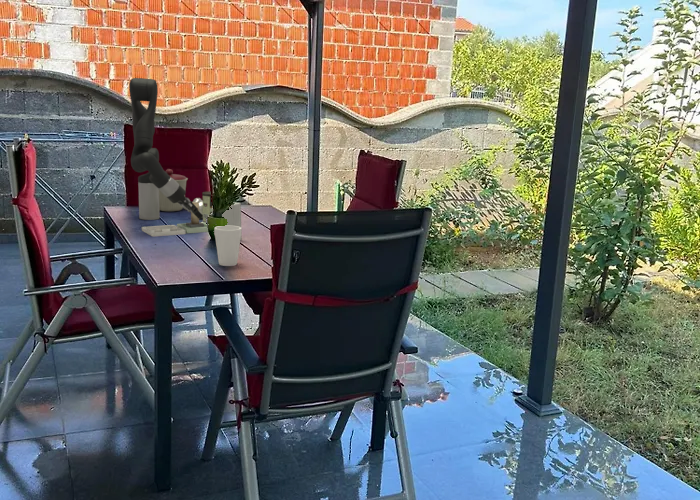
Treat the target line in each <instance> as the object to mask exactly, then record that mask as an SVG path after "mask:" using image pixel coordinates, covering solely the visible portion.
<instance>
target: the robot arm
mask: <svg viewBox="0 0 700 500" xmlns="http://www.w3.org/2000/svg"><path fill="white" fill-rule="evenodd" d="M128 87H129V88H128V89H129V98H130V103H131V105H130V106H131V110H132V111H131V113H132V116H131V117H132V119H131V120H132V131H133V132H132V133H133V142H134V144H133V145H134V146H133V149H132V153H131V157H130V166H131V168H132V170H134V172H137V173H143V172H146V173H144V174H141V175H139V176H138V177H137V181H138V182H137V183H138V184H137V185H138V209H139V210H138V215H139V217H138V219H140V220H146V221H148V220H149V221H151V220H152V221H153V220H155V221H156V220H159V219H161V218H160V216H161V215H160V210H159V190H160V191H161V192H162V193H163V194H164V195H165V196H166V197H167V198H168V199H169V200H170V201H171V202H172V203H178V204H179V205H181V206H182V207H183V208H182V209H184V210H185V211H187V212H188V213H190V214H191V212H192V213H193V214H194V215H195V216H197V217H198V218H199V220H201V218H202V217H203V215H202V214H201V213H200V212H199V211H198V208H197V207H196V206H195V205H194V204H193V203H192V202H193V201H191V200H190V198H189V197H186V193H187V191H186V190H184V189H183V188H182V187H181V186H180V185H179V184H178V183H177V182H176V181H175V180H174V179H173V178H171V177H170V176H169V175H168V174H167V173H166V170H164V168H163V167H162V165H161V163H160V162H159V161H160V153H159V150H158V149H157V148H156V147H153V146H154V145H153V144H154V134H155V132H156V131H155V126H156V125H155V117H156V112H157V111H156V110H157V103H158V102H157V101H158V88H159V87H158V82H157V80H156V79H155V78H154V79H153V78H142V77H133V78H131V79H130V81H129V86H128ZM142 102H148V105H147V108H146V107H145V106H144V105H143V104H142ZM147 171H148V172H147ZM184 195H185V197H184ZM193 209H194V210H193ZM202 219H203V218H202Z"/></svg>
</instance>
